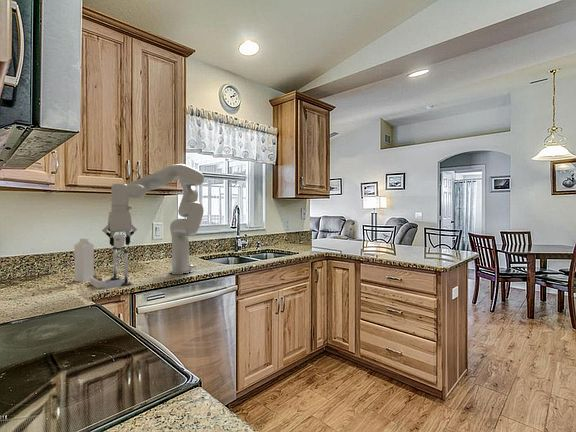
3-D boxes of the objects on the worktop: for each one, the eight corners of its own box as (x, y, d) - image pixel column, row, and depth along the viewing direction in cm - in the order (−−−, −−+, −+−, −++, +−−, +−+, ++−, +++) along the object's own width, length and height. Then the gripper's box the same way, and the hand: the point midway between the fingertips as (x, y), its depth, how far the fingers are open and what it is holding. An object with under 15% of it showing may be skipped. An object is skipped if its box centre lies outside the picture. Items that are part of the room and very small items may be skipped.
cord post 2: (129, 283, 158) (129, 248, 158) (132, 285, 155) (131, 249, 155) (120, 284, 155) (120, 249, 155) (123, 286, 152) (122, 250, 152)
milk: (85, 280, 169) (85, 238, 169) (94, 281, 167) (94, 238, 166) (74, 283, 163) (74, 239, 163) (82, 284, 161) (82, 239, 161)
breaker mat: (120, 279, 171) (120, 270, 171) (134, 286, 156) (134, 276, 156) (87, 284, 161) (87, 274, 161) (99, 292, 146) (99, 281, 145)
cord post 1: (118, 278, 170) (117, 245, 170) (120, 279, 168) (120, 246, 167) (109, 279, 168) (109, 246, 167) (111, 280, 165) (111, 246, 164)
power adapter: (116, 245, 165) (116, 233, 165) (126, 245, 167) (126, 233, 167) (112, 247, 155) (112, 235, 155) (123, 247, 156) (123, 235, 156)
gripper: (135, 209, 169) (135, 243, 170) (98, 208, 157) (98, 245, 158) (141, 209, 164) (140, 244, 164) (102, 208, 152) (102, 247, 152)
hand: (120, 245), depth 161 cm, fingers closed on power adapter, 6 cm apart
